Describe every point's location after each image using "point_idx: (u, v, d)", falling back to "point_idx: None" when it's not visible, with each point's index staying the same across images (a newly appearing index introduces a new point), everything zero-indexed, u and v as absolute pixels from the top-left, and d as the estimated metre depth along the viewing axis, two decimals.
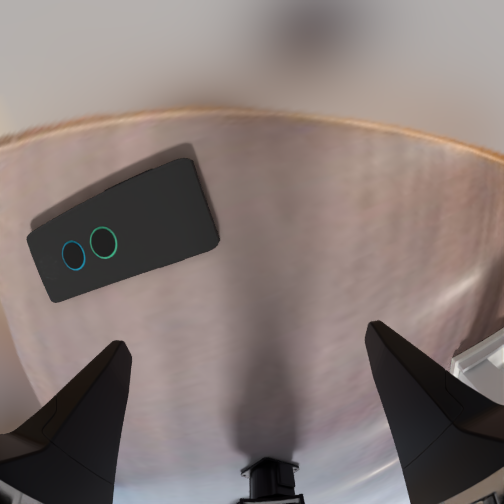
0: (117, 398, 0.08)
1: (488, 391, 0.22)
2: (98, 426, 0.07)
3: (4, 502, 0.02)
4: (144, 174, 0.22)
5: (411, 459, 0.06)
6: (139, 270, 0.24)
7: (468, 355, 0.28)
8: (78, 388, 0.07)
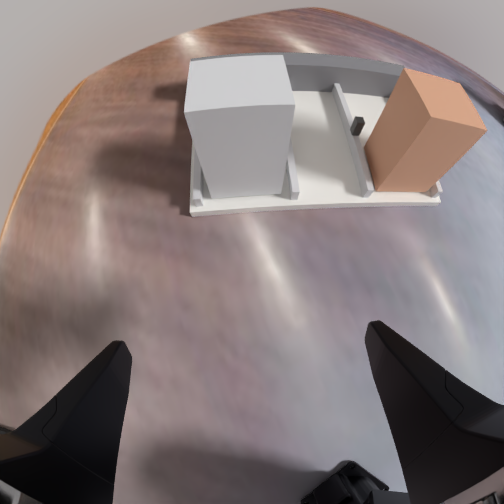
0: (117, 398, 0.08)
1: None
2: (98, 426, 0.07)
3: (4, 502, 0.02)
4: None
5: (411, 459, 0.06)
6: None
7: (192, 187, 0.25)
8: (78, 388, 0.07)
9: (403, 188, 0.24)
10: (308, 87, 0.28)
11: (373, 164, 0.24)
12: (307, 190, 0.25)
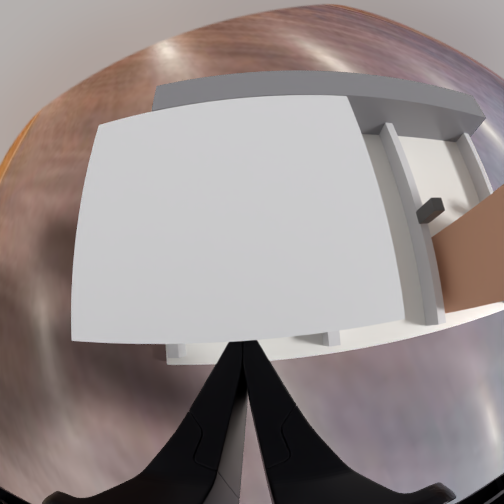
0: (244, 401, 0.08)
1: None
2: (237, 437, 0.07)
3: None
4: None
5: (269, 490, 0.06)
6: None
7: None
8: (219, 397, 0.07)
9: None
10: None
11: (446, 273, 0.14)
12: None
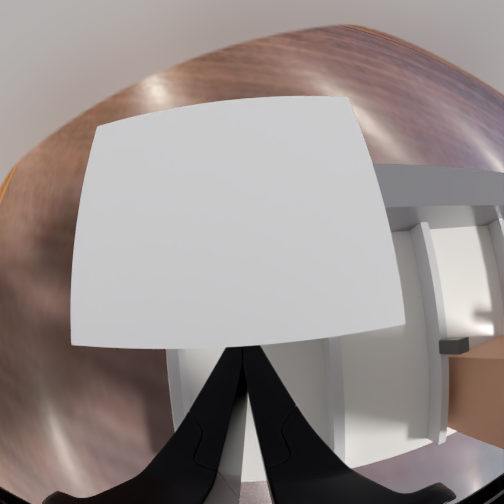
0: (244, 401, 0.08)
1: None
2: (237, 437, 0.07)
3: None
4: None
5: (269, 490, 0.06)
6: None
7: None
8: (219, 397, 0.07)
9: None
10: None
11: (456, 397, 0.12)
12: (355, 449, 0.13)
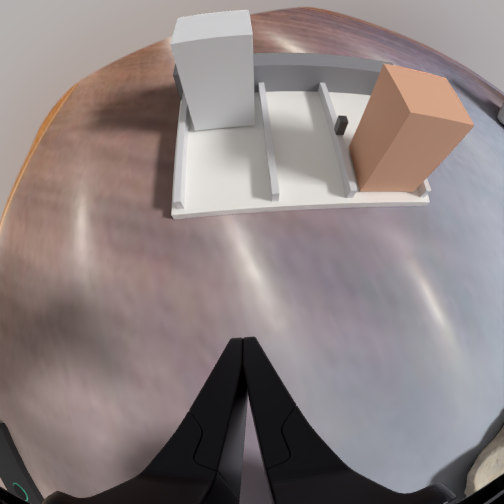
0: (244, 402, 0.08)
1: None
2: (237, 437, 0.07)
3: None
4: None
5: (269, 490, 0.06)
6: (24, 478, 0.16)
7: (174, 190, 0.25)
8: (219, 397, 0.07)
9: (389, 188, 0.24)
10: (293, 87, 0.28)
11: (357, 164, 0.24)
12: (288, 191, 0.25)
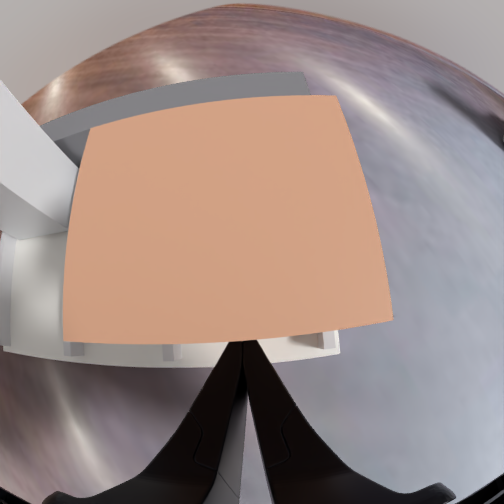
0: (244, 402, 0.08)
1: None
2: (237, 437, 0.07)
3: None
4: None
5: (269, 490, 0.06)
6: None
7: None
8: (219, 397, 0.07)
9: None
10: None
11: None
12: None
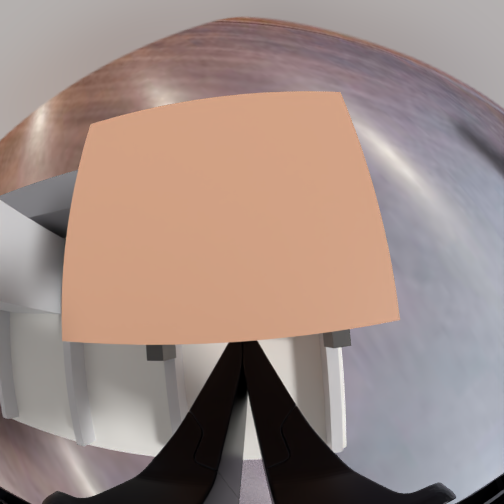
0: (244, 401, 0.08)
1: None
2: (237, 437, 0.07)
3: None
4: None
5: (269, 490, 0.06)
6: None
7: None
8: (219, 397, 0.07)
9: None
10: None
11: None
12: (106, 430, 0.13)
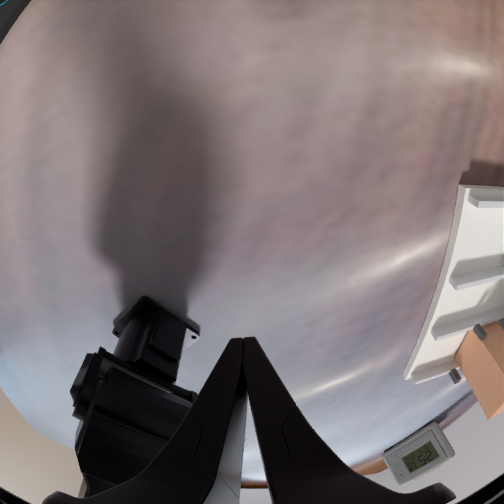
0: (244, 401, 0.08)
1: None
2: (237, 437, 0.07)
3: None
4: None
5: (269, 490, 0.06)
6: None
7: (482, 190, 0.18)
8: (219, 397, 0.07)
9: (465, 345, 0.27)
10: None
11: (486, 326, 0.25)
12: (451, 288, 0.23)
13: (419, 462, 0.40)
